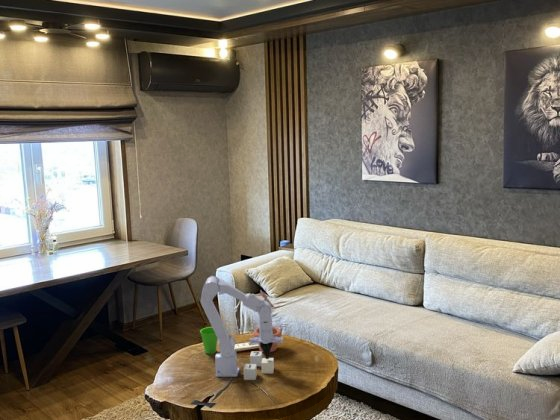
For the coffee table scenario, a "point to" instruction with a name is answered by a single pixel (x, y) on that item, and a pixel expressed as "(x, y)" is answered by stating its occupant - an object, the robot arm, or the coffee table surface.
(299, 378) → the coffee table surface
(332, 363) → the coffee table surface
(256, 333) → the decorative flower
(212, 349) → the cup
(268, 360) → the cream block
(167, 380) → the coffee table surface
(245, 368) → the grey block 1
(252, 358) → the white marked cube 7
